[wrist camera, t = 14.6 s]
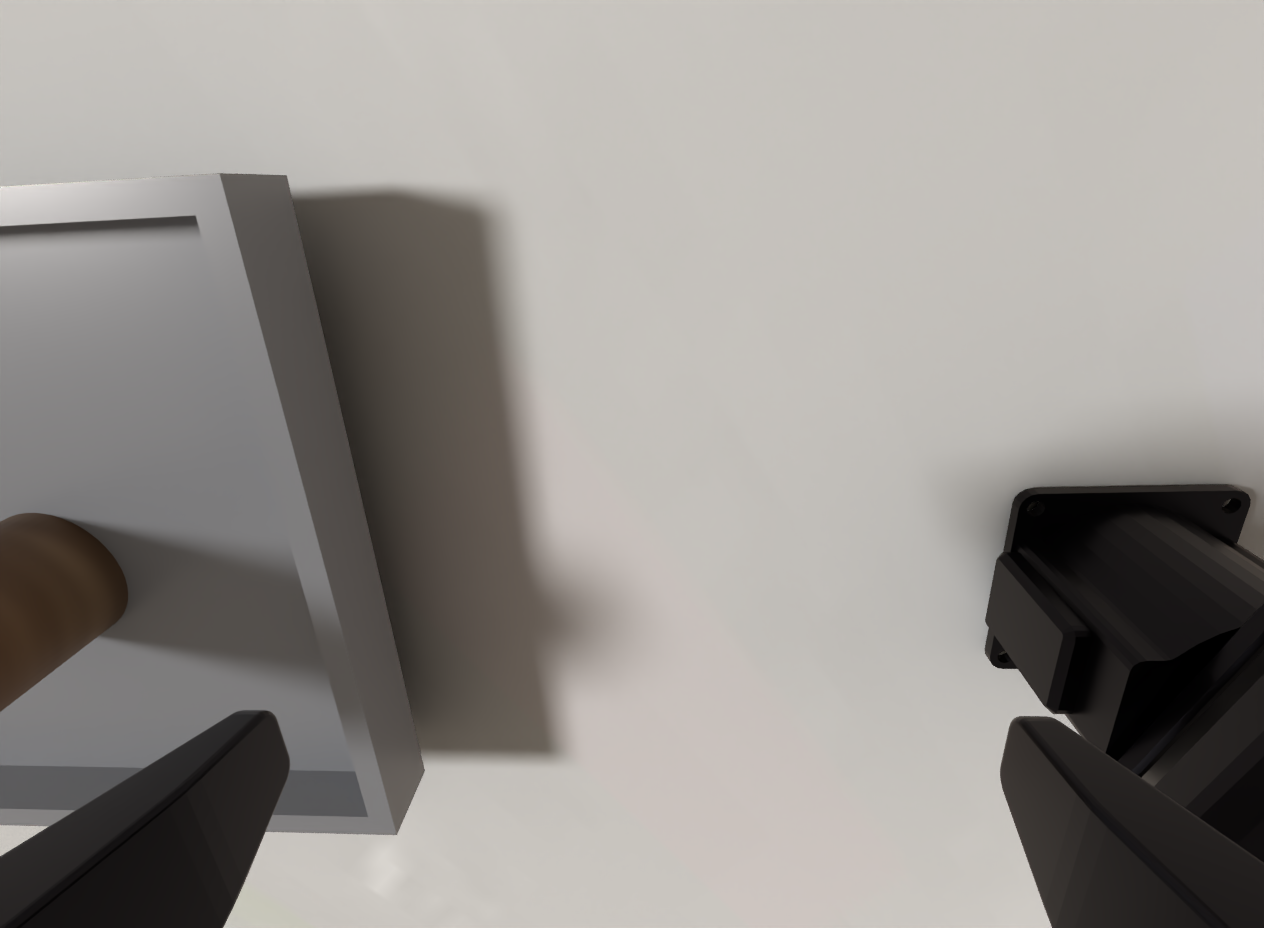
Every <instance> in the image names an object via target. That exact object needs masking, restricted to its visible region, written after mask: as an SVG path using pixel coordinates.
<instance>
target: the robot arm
mask: <svg viewBox="0 0 1264 928" xmlns="http://www.w3.org/2000/svg"><path fill="white" fill-rule="evenodd" d="M1229 499H1231V500H1230V502H1229V503H1228V504H1227V505H1225V506H1224V507H1222V506H1223V504H1224V503H1225V502H1226V501H1227V500H1229ZM1036 501H1038V505H1037V507H1035V508H1034V509H1033V510H1027V508H1028V506H1029V505H1030V504H1031V503H1033V502H1036ZM1249 507H1250V497H1249V495H1248V494H1246V493H1245V492H1243V491H1242V490H1240V489H1238V488H1236V487H1234V486H1231V485H1185V486H1129V487H1072V488H1031V489H1026V490H1024V491H1022V492H1020V493H1019V494H1018V495H1017V496H1016V497H1015V499H1014V501H1013V504H1012V509H1011V514H1010V519H1009V525H1008V530H1007V535H1006V540H1005V546H1004V551H1003V553H1001V555H1000V556H999V557H998V558H997V560H996V566H995V571H994V576H993V582H992V587H991V592H990V598H989V603H988V608H987V614H986V619H985V621H986V624H987V625H988V627H989V630H988V635H987V640H986V645H985V654H986V656H987V657H988V659H989V660H990V662H991V663H992V665H993V666H995V667H997V668H1002V669H1019V671H1020V672H1021V674H1022V675H1023V677H1024V678H1025V679H1026V681H1027V682H1028V684H1029V685H1030V687H1031V688H1032V689H1033V691H1034V692H1035V694H1036V695H1037V696H1038V698H1039V699H1040V701H1041V702H1042V704H1043V705H1044V706H1045V707H1046V708H1047V709H1048V710H1049V711H1050V712H1052V713H1053V714H1065V715H1066V716H1067V718H1068V719H1069V720H1070V722H1071V723H1072V725H1073V726H1074V727H1075V729H1076V730H1077V731H1078V733H1079V734H1080V735H1081V736H1080V735H1079V734H1077V733H1076V732H1074V731H1073V730H1071V729H1070V728H1068V727H1067V726H1066V725H1064V724H1063V723H1061V722H1060V721H1058V720H1056V719H1054V718H1051V717H1040V716H1019V717H1016V718H1014V719H1013V720H1012V722H1011V724H1010V726H1009V731H1008V735H1007V740H1006V744H1005V749H1004V753H1003V758H1002V762H1001V768H1000V778H1001V784H1002V789H1003V792H1004V795H1005V798H1006V800H1007V803H1008V806H1009V809H1010V812H1011V814H1012V817H1013V820H1014V823H1015V826H1016V829H1017V831H1018V834H1019V837H1020V840H1021V843H1022V845H1023V848H1024V851H1025V854H1026V857H1027V860H1028V862H1029V865H1030V868H1031V871H1032V874H1033V876H1034V879H1035V882H1036V885H1037V888H1038V891H1039V893H1040V896H1041V899H1042V902H1043V905H1044V908H1045V910H1046V913H1047V915H1048V918H1049V921H1050V923H1051V926H1052V928H1264V561H1263V560H1262V559H1260V558H1259V557H1257V556H1256V555H1254V554H1252V553H1251V552H1249V551H1248V550H1246V549H1245V548H1243V547H1242V546H1240V545H1238V544H1237V542H1238V539H1239V536H1240V533H1241V530H1242V527H1243V524H1244V521H1245V518H1246V515H1247V513H1248V510H1249ZM1002 651H1006V653H1004V654H1002V655H999V653H1001V652H1002ZM289 771H290V757H289V754H288V751H287V748H286V745H285V742H284V739H283V736H282V733H281V730H280V727H279V724H278V721H277V718H276V716H275V715H274V714H273V713H272V712H270V711H267V710H242V711H237V712H235V713H233V714H231V715H229V716H228V717H226V718H224V719H223V720H221V721H220V722H218V723H216V724H215V725H213V726H211V727H210V728H208V729H207V730H205V731H203V732H202V733H200V734H198V735H197V736H195V737H194V738H192V739H190V740H189V741H187V742H185V743H184V744H182V745H181V746H179V747H177V748H176V749H174V750H173V751H171V752H169V753H168V754H166V755H164V756H163V757H161V758H160V759H158V760H156V761H155V762H153V763H151V764H150V765H148V766H147V767H145V768H143V769H142V770H140V771H138V772H137V773H135V774H134V775H132V776H130V777H129V778H127V779H125V780H124V781H122V782H121V783H119V784H117V785H116V786H114V787H112V788H111V789H109V790H108V791H106V792H104V793H103V794H101V795H99V796H98V797H96V798H95V799H93V800H91V801H90V802H88V803H86V804H85V805H83V806H82V807H80V808H78V809H77V810H75V811H74V812H72V813H70V814H69V815H67V816H65V817H64V818H62V819H61V820H59V821H57V822H56V823H54V824H52V825H51V826H49V827H48V828H46V829H44V830H43V831H41V832H39V833H38V834H36V835H35V836H33V837H31V838H30V839H28V840H26V841H25V842H23V843H22V844H20V845H18V846H17V847H15V848H13V849H12V850H10V851H9V852H7V853H5V854H4V855H2V856H0V928H223V927H224V925H225V923H226V921H227V919H228V917H229V915H230V913H231V911H232V909H233V906H234V904H235V902H236V900H237V898H238V896H239V893H240V891H241V889H242V887H243V884H244V882H245V880H246V877H247V875H248V873H249V870H250V868H251V865H252V863H253V861H254V858H255V856H256V853H257V851H258V849H259V846H260V844H261V841H262V839H263V836H264V834H265V832H266V829H267V827H268V824H269V822H270V820H271V817H272V815H273V812H274V810H275V808H276V805H277V803H278V800H279V798H280V796H281V793H282V791H283V788H284V786H285V784H286V781H287V778H288V775H289Z"/></svg>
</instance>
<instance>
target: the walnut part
mask: <svg viewBox="0 0 1264 928" xmlns="http://www.w3.org/2000/svg"><path fill="white" fill-rule="evenodd" d="M127 603H128V587H127V583H126V579H125V576H124V574H123V571H122V569H121V567H120V566H119V564H118V562H117V561H116V559H115V558H114V556H113V555H112V554H111V553H110V551H109V550H108V549H107V548H106V547H105V546H104V545H103V544H102V543H101V542H100V541H99V540H98V539H96V538H95V537H94V536H93V535H91V534H90V533H89V532H87V531H86V530H84V529H83V528H81V527H79V526H77V525H75V524H74V523H72V522H69V521H67V520H65V519H62V518H59V517H56V516H53V515H48V514H42V513H22V514H17V515H14V516H11V517H9V518H7V519H5V520H3V521H0V712H1V711H2V710H4V709H5V708H6V707H7V706H9V705H10V704H11V703H13V702H14V701H15V700H16V699H18V698H19V697H20V696H22V695H23V694H24V693H26V692H27V691H28V690H29V689H31V688H32V687H33V686H35V685H36V684H37V683H38V682H40V681H41V680H42V679H44V678H45V677H46V676H48V675H49V674H50V673H51V672H53V671H54V670H55V669H57V668H58V667H59V666H61V665H62V664H63V663H64V662H66V661H67V660H68V659H70V658H71V657H72V656H73V655H75V654H76V653H77V652H79V651H80V650H81V649H83V648H84V647H85V646H86V645H88V644H89V643H90V642H92V641H93V640H94V639H95V638H97V637H98V636H99V635H101V634H102V633H103V632H105V631H106V630H107V629H108V628H110V627H111V626H112V625H114V624H115V623H116V622H117V621H118V620H119V619H120V618H121V617H122V615H123V614H124V612H125V609H126V607H127Z"/></svg>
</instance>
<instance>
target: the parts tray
mask: <svg viewBox="0 0 1264 928" xmlns="http://www.w3.org/2000/svg"><path fill="white" fill-rule="evenodd" d="M22 513H42V514H48V515H53V516H56V517H59V518H62V519H65V520H67V521H69V522H72V523H74V524H75V525H77V526H79V527H81V528H83V529H84V530H86V531H87V532H89V533H90V534H91V535H93V536H94V537H95V538H96V539H98V540H99V541H100V542H101V543H102V544H103V545H104V546H105V547H106V548H107V549H108V550H109V551H110V553H111V554H112V555H113V556H114V558H115V559H116V561H117V562H118V564H119V566H120V567H121V569H122V571H123V574H124V576H125V579H126V583H127V587H128V603H127V607H126V609H125V612H124V614H123V615H122V617H121V618H120V619H119V620H118V621H117V622H116V623H115V624H114V625H112V626H111V627H110V628H108V629H107V630H106V631H105V632H103V633H102V634H101V635H99V636H98V637H97V638H95V639H94V640H93V641H92V642H90V643H89V644H88V645H86V646H85V647H84V648H83V649H81V650H80V651H79V652H77V653H76V654H75V655H73V656H72V657H71V658H70V659H68V660H67V661H66V662H64V663H63V664H62V665H61V666H59V667H58V668H57V669H55V670H54V671H53V672H51V673H50V674H49V675H48V676H46V677H45V678H44V679H42V680H41V681H40V682H38V683H37V684H36V685H35V686H33V687H32V688H31V689H29V690H28V691H27V692H26V693H24V694H23V695H22V696H20V697H19V698H18V699H16V700H15V701H14V702H13V703H11V704H10V705H9V706H7V707H6V708H5V709H4V710H2V711H1V712H0V825H20V826H51V825H52V824H54V823H56V822H57V821H59V820H61V819H62V818H64V817H65V816H67V815H69V814H70V813H72V812H74V811H75V810H77V809H78V808H80V807H82V806H83V805H85V804H86V803H88V802H90V801H91V800H93V799H95V798H96V797H98V796H99V795H101V794H103V793H104V792H106V791H108V790H109V789H111V788H112V787H114V786H116V785H117V784H119V783H121V782H122V781H124V780H125V779H127V778H129V777H130V776H132V775H134V774H135V773H137V772H138V771H140V770H142V769H143V768H145V767H147V766H148V765H150V764H151V763H153V762H155V761H156V760H158V759H160V758H161V757H163V756H164V755H166V754H168V753H169V752H171V751H173V750H174V749H176V748H177V747H179V746H181V745H182V744H184V743H185V742H187V741H189V740H190V739H192V738H194V737H195V736H197V735H198V734H200V733H202V732H203V731H205V730H207V729H208V728H210V727H211V726H213V725H215V724H216V723H218V722H220V721H221V720H223V719H224V718H226V717H228V716H229V715H231V714H233V713H235V712H237V711H242V710H267V711H270V712H272V713H273V714H274V715H275V716H276V718H277V721H278V724H279V727H280V730H281V733H282V736H283V739H284V742H285V745H286V748H287V751H288V754H289V757H290V771H289V775H288V778H287V781H286V784H285V786H284V788H283V791H282V793H281V796H280V798H279V800H278V803H277V805H276V808H275V810H274V812H273V815H272V817H271V820H270V822H269V824H268V827H267V829H266V832H297V833H336V834H376V835H397V833H398V831H399V829H400V826H401V824H402V822H403V819H404V817H405V815H406V813H407V810H408V808H409V806H410V803H411V801H412V799H413V797H414V794H415V792H416V790H417V787H418V785H419V783H420V781H421V778H422V776H423V774H424V771H425V769H424V765H423V761H422V757H421V752H420V748H419V744H418V739H417V735H416V731H415V726H414V722H413V718H412V713H411V709H410V705H409V701H408V696H407V692H406V688H405V683H404V679H403V675H402V670H401V666H400V662H399V657H398V653H397V649H396V645H395V640H394V636H393V632H392V627H391V623H390V619H389V614H388V610H387V606H386V601H385V597H384V593H383V589H382V584H381V580H380V576H379V571H378V567H377V563H376V558H375V554H374V550H373V546H372V541H371V537H370V533H369V528H368V524H367V520H366V515H365V511H364V507H363V502H362V498H361V494H360V490H359V485H358V481H357V477H356V472H355V468H354V464H353V459H352V455H351V451H350V446H349V442H348V438H347V434H346V429H345V425H344V421H343V416H342V412H341V408H340V403H339V399H338V395H337V391H336V386H335V382H334V378H333V373H332V369H331V365H330V360H329V356H328V352H327V347H326V343H325V339H324V335H323V330H322V326H321V322H320V317H319V313H318V309H317V304H316V300H315V296H314V291H313V287H312V283H311V279H310V274H309V270H308V266H307V261H306V257H305V253H304V248H303V244H302V240H301V236H300V231H299V227H298V223H297V218H296V214H295V210H294V205H293V201H292V197H291V192H290V188H289V184H288V180H287V175H256V174H223V173H217V174H201V175H185V176H168V177H152V178H135V179H119V180H102V181H86V182H69V183H53V184H37V185H20V186H4V187H0V521H3V520H5V519H7V518H9V517H11V516H14V515H17V514H22Z"/></svg>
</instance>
